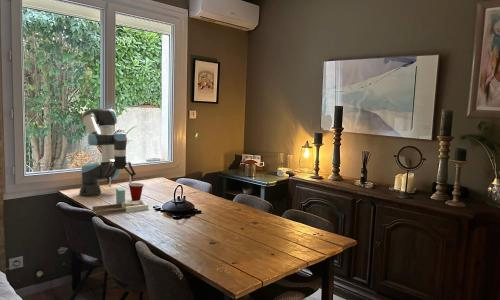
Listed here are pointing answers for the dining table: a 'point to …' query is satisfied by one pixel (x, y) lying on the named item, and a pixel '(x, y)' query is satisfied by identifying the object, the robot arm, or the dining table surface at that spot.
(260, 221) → the dining table surface
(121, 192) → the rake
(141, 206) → the tray
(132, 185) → the plastic cup
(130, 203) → the cube
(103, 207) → the channel board
